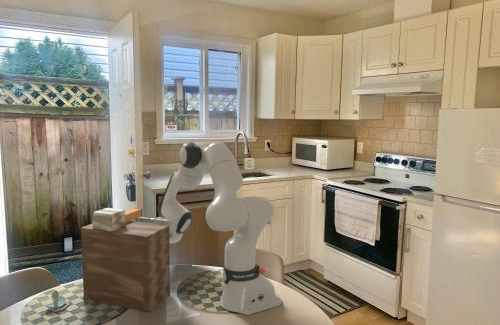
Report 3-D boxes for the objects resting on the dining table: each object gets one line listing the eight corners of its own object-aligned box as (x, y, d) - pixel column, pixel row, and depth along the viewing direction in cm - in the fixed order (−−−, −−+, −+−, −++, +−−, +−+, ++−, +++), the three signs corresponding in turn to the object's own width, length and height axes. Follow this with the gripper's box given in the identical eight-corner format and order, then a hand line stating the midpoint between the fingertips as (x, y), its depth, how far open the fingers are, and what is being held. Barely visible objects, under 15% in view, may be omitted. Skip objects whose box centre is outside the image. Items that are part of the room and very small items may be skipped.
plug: (135, 215, 156) (134, 207, 156) (142, 216, 155) (142, 208, 155) (104, 227, 139) (104, 218, 139) (112, 228, 138) (112, 219, 138)
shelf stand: (109, 283, 154) (106, 203, 150) (169, 294, 145) (168, 209, 141) (83, 298, 141) (80, 211, 137) (148, 312, 132) (146, 219, 128)
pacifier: (72, 304, 138) (57, 302, 139) (72, 287, 137) (57, 285, 138) (59, 314, 130) (43, 312, 131) (58, 297, 130) (43, 295, 131)
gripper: (141, 218, 175) (124, 209, 163) (180, 222, 168) (166, 213, 156) (137, 232, 173) (119, 223, 161) (177, 237, 166) (162, 228, 154)
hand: (142, 218), depth 158 cm, fingers open, 8 cm apart
